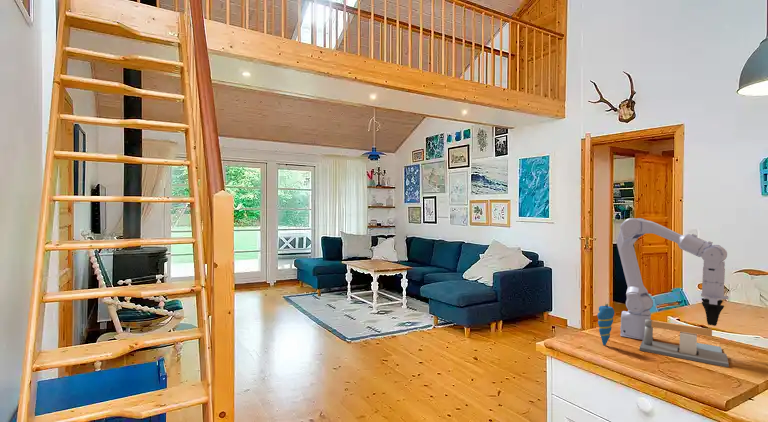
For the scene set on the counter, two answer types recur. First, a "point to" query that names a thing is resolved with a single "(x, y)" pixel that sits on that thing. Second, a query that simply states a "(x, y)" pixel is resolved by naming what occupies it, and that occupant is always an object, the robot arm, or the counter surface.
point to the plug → (688, 343)
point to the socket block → (672, 350)
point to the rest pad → (709, 347)
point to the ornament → (605, 322)
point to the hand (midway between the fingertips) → (711, 322)
